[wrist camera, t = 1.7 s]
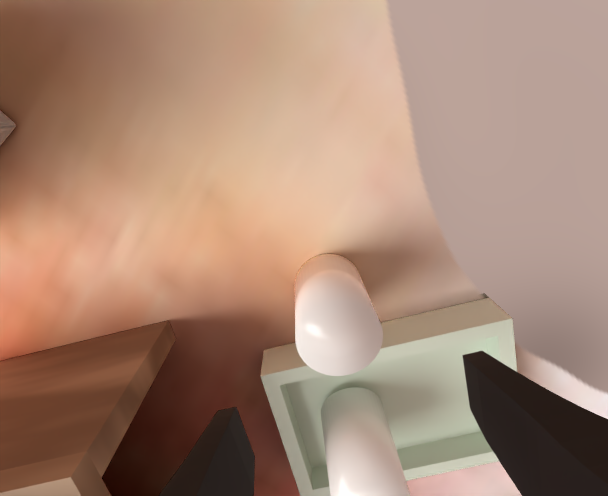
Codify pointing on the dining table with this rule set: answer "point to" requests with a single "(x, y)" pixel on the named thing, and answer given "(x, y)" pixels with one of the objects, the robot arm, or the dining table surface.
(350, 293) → the white rounded piece
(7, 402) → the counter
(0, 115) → the skincare box
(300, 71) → the dining table surface
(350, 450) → the pale pink rounded cylinder
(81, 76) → the dining table surface
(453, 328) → the tray
